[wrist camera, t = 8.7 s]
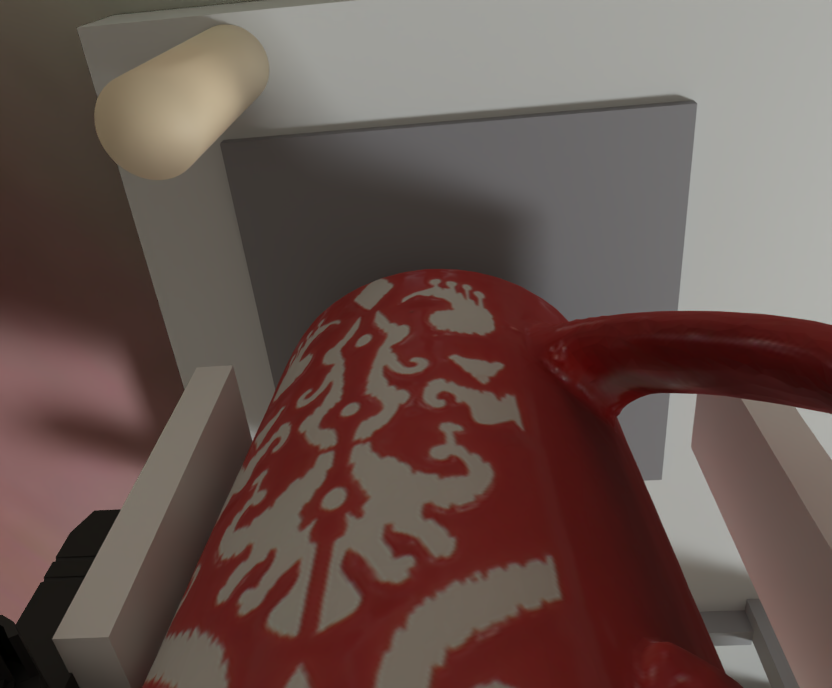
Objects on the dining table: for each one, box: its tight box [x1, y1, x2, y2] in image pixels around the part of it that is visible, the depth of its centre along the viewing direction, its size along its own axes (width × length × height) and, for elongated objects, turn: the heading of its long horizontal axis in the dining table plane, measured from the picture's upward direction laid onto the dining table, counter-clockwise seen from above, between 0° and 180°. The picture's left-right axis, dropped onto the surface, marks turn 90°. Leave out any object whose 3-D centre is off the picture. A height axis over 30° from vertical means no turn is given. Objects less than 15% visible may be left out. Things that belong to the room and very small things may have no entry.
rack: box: [77, 0, 832, 688], centre depth 19 cm, size 19×23×7 cm
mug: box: [142, 269, 832, 688], centre depth 11 cm, size 13×9×14 cm
